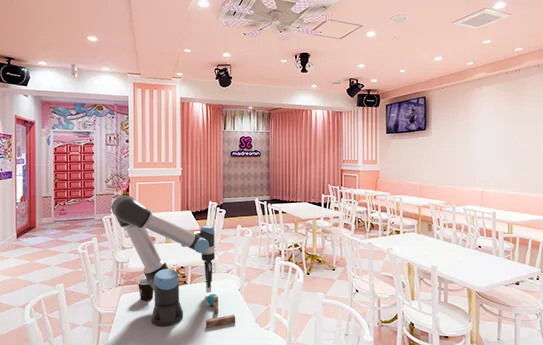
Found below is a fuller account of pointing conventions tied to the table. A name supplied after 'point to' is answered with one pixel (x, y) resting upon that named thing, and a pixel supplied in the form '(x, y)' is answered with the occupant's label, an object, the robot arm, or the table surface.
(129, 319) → the table surface
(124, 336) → the table surface
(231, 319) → the back wall
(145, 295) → the coffee mug
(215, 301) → the pin
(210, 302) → the ball
